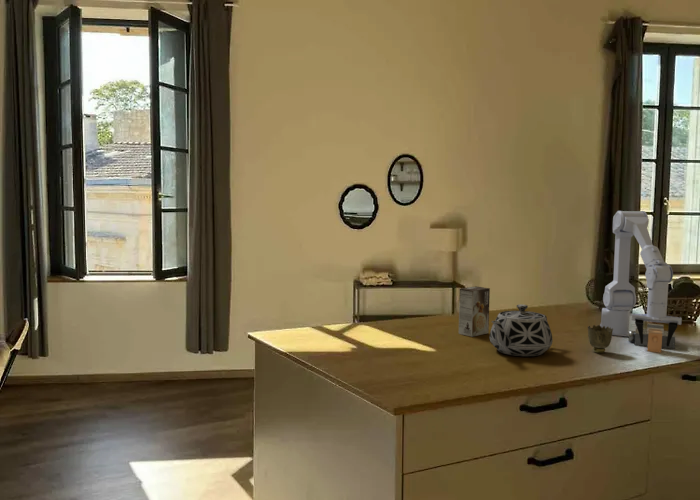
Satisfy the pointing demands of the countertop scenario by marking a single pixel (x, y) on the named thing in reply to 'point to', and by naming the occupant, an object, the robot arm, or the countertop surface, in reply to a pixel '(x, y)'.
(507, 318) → the patterned lidded jar
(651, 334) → the tan single stud brick
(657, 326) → the grey plate with rails
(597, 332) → the cup
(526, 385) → the countertop surface
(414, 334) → the countertop surface
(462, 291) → the coffee box
